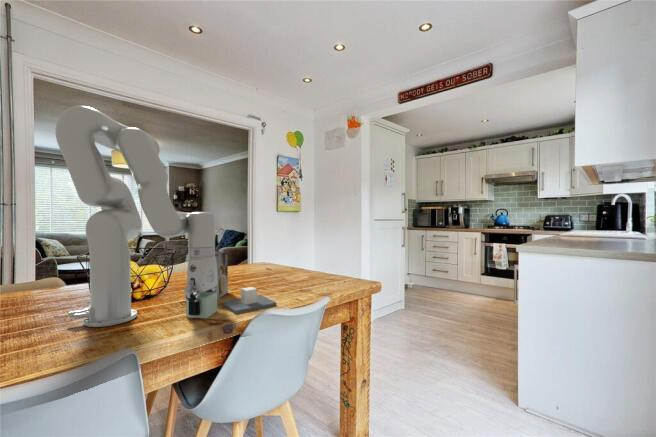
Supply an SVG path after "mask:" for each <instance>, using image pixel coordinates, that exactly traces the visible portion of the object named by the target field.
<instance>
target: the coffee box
mask: <svg viewBox="0 0 656 437" xmlns="http://www.w3.org/2000/svg"><path fill="white" fill-rule="evenodd" d="M215 258H216V263H217V275H218V284H217V286H216V288H215V290H216V292H217V300H219V299H221V298H222V297H223V296H225V295H226V294H227V293H229V277H228V276H229V275H228V274H229V273H228V266H229V265H228V262H229V261H228V259H229V258H228V250H227V251H226V250H225V251H217V250H215Z"/></svg>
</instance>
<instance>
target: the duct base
mask: <svg viewBox="0 0 656 437" xmlns="http://www.w3.org/2000/svg"><path fill="white" fill-rule="evenodd" d="M240 290H241V292H240V294H241V296H240V298H236V299H229V300H225V301H221V305H222V306H223V307H225V308H226V309H227V310H229V311H230V312H232V313H233V314H234V315H237V314H243V313H247V312H252V311H257V310H261V309H266V308H271V307H276V306H277V302H276V301H274V300H273V299H271V298H268V297H266V296H264V295H262V294H258V293H257V292H258V289H257V288H255V287H253V286H249V287H242V288H240ZM257 294H258V295H257Z"/></svg>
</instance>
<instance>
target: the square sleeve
mask: <svg viewBox="0 0 656 437" xmlns="http://www.w3.org/2000/svg"><path fill="white" fill-rule="evenodd" d="M193 295H194V296H195V297H196V294H193ZM198 301H200V315H198V316H197V315H189V302H188V301H187V298H186V297H185V318H189V319H190V318H191V319H192V318H193V319H194V318H196V319H208V318H209V317H211V316H212V315H214V314H215V313H217V312H218V299H217V292H204V293H200V297H199V300H198Z"/></svg>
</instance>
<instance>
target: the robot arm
mask: <svg viewBox="0 0 656 437" xmlns="http://www.w3.org/2000/svg"><path fill="white" fill-rule="evenodd" d="M55 139H56V142H57V145H58V147H59V150H60V152H61V155H62V157H63V159H64V162H65V164H66V167H67V170H68V173H69V175H70V178H71V180H72V183H73V185H74V188H75V191H76V193H77V196H78V197H79V200H80V201H81V202H82V203H83V204H85V205H87V206H91V207H94V208H100V209H101V210H99V211H96V212H95V213H93V214H92V215H90V217H89V218H88V219H87V221H86V223H85V235H86V236H85V237H86V240H87V245H88V252H89V253H88V254H89V294H90V295H89V296H90V297H89V300H90V301H89V302H90V304H88V307H85V308H84V309H80V310H78V309H77V310H71V311H69V314H68V316H69V317H68V318H69V319H75V320H78V319H83V318H84V319H83V322H82V323H83V325H84V326H86V327H90V328H102V327H110V326H116V325H119V324H121V325H122V324H123V323H124V324H125V323H126V322H127V323H128V322H129V321H132V320H134V319H135V318H137V316H138V311H137V310H136V309H133V308H132V284H131V283H132V281H131V280H132V277H131V276H132V275H131V272H132V270H131V269H132V268H131V265H132V263H131V252H130V251H131V250H130V246H129V242H128V241H129V240H132V239H134V238H136V237H137V236H138V235H139V234H140V233H141V231H142V226H143V224H142V223H143V222H142V218H141V216H140V213H139V210H138V208H137V204H136V203H135V199H134V196H133V195H132V192H131V189H130V188H129V186H128V184H126V183H125V182H124V181H123V180H121V179H120V178H118V177H115V176H111V174H110V172H109V171H108V168H107V166H106V163H105V159H104V158H103V156H102V153H101V152H100V150H99V148H98V147H97V145H96V143H97V144H98V145H101V146H104V147H105V148H109V149H110V150H113V151H116V152H118V153H121V155H122V157H123V159H124V161H125V163H126V165H127V167H128V169H129V171H130V173H131V175H132V178H133V179H134V181H135V183H136V186H137V187H136V188H137V194H138V198H139V203H140V206H141V209H142V212H143V213H144V215H145V217H146V219H147V221H148V223H149V226H150V227H151V229H152V230H153V231H154V233H155V234H157V236H160V237H161V238H166V239H172V238H175V237H180V236H185V235H186V236H187V249H188V250H187V255H188V257H187V258H188V262H187V263H188V264H187V272H186V275H187V276H186V286H185V288H184V290H183V293H184V295H185V299H186V298H187V301H188V302H189V315H197V316H198V315H200V301H198V300H199V297H200V293H204V292H216V290H215V288H216V286H217V284H218V275H217V263H216V258H215V251H216V223H215V222H216V218H215V214H214V212H209V211H192V212H184V211H176V209H175V207H174V205H173V203H172V200H171V198H170V196H169V193H168V192H169V191H168V188H167V187H168V186H167V184H168V181H169V176H168V173H167V171H166V168H165V166H164V165H163V162H162V161H161V159H160V156H159V155H160V149H161V148H160V145H159V143H158V141H157V139H156V138H155V137H154V136H153V135H151V134H149V133H148V132H146V131H144V130H142V129H141V128H138V127H129V126H127V125H124V124H123V123H120V122H118V121H116V120H115V119H113V118H111V117H110V116H107V114H105V113H104V112H102V111H100V110H97V109H95V108H93V107H90V106H86V105H74V106H71V107H68V108H67V109H65V111H63V112H62V113H61V115H60V116H59V118H58V120H57V121H56V125H55ZM193 294H196V297H195V296H194V295H193Z"/></svg>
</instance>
